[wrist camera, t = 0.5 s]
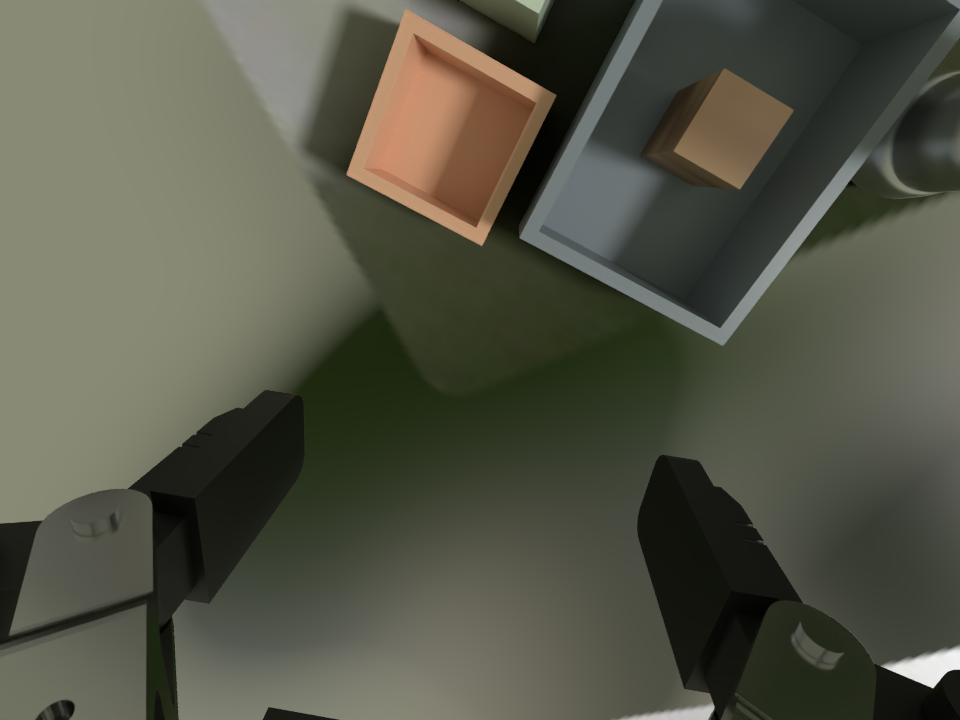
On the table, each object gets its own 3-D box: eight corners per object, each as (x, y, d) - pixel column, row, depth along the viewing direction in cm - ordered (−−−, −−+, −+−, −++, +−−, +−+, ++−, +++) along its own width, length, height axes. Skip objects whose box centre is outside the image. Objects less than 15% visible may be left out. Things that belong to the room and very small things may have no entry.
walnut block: (677, 91, 28) (724, 67, 22) (732, 123, 29) (794, 110, 22) (639, 155, 30) (673, 151, 23) (692, 185, 30) (739, 189, 24)
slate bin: (679, -86, 26) (733, -172, 19) (877, 40, 27) (988, -1, 21) (518, 224, 33) (519, 237, 26) (684, 312, 34) (722, 345, 28)
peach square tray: (421, 32, 29) (405, 9, 25) (551, 106, 30) (556, 95, 26) (368, 174, 32) (346, 174, 28) (486, 236, 33) (482, 245, 29)
